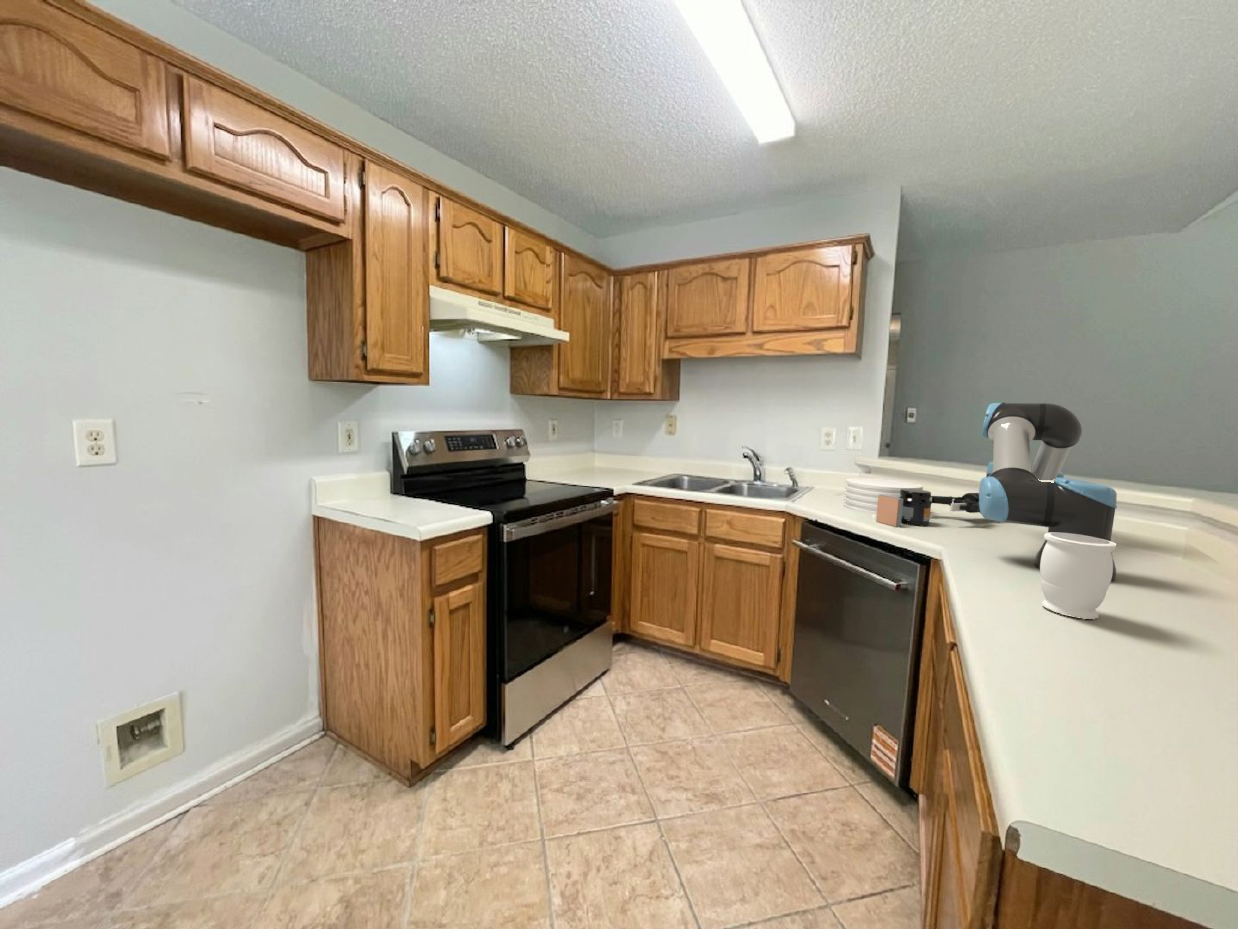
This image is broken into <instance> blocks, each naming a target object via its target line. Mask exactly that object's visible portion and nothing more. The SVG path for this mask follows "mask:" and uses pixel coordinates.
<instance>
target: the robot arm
mask: <svg viewBox="0 0 1238 929" xmlns="http://www.w3.org/2000/svg"><path fill="white" fill-rule="evenodd" d="M1082 431H1083V428H1082V424H1081V422H1080V419H1078V417H1077V415H1075V413H1074V412H1072V411H1070V410H1069V409H1067V408H1066V407H1064V406H1062V405H1060V404H1056V403H1055V404H1054V403H1050V402H1048V403H1047V402H1046V403H1042V402H1041V403H1038V402H1037V403H1035V402H1034V403H1033V402H1031V403H1029V402H1027V403H1026V402H1023V403H1022V402H1006V401H1005V402H1003V401H1002V402H992V403H990V404H989V405H988V406H987V409H986V410H985V416H984V420H983V424H982V431H981V432H982V433H981V435H982V437H983V438H985V439H988V440H989V442H991V443H992V444H993V447H992V448H993V449H992V450H993V451H992V452H993V453H992V455H993V456H992V459H993V460H992V461H990V462H989V463H988V464H987V469H986V474H985V475H986V476H985V477H982V478H981V479H980V481H979V482H980V483H979V487H978V492H967V493H965V494H963V495H962V496H956V497H955V496H952V495H950V496H943V495H942V496H941V495H931V497H930V500H931V501H932V504H938V505H948V506H949V507H950V508H949V509H950V510H949V512H966V513H969V514H975V513H976V514H978V513H979V514H981V516H982V517H983V518H984V519H986V520H990V521H991V520H992V521H996V522H999V523H1009V524H1018V525H1027V526H1034V527H1035V526H1036V527H1044V528H1048V529H1047V530H1048V531H1047V533H1049V532H1058V533H1071V534H1079V535H1085V536H1091V537H1096V538H1100V539H1104V540H1107V541H1111V542H1112V534H1113V527H1114V520H1115V513H1116V509H1117V508H1118V506H1117V497H1118V496H1117V491H1116V490H1115V489H1114V488H1112V487H1110V486H1107V485H1104V484H1101V483H1100V484H1099V483H1095V482H1090V481H1084V480H1079V479H1074V478H1068V477H1065V476H1064V473H1063V472H1062V471H1061V470H1062V468H1063V466H1064V464H1065V462H1066V461H1067V460H1066V459H1067V457H1068V455H1069V452H1070V451H1071V449H1072V448H1073V447H1074V446H1076V444H1078V442H1079V441H1080V438H1081V436H1082ZM1032 441H1041V442H1040V444H1039V448H1038V451H1037V454H1036V455H1035V459H1034V462H1033V464H1032V463H1031V447H1030V443H1031V442H1032ZM1038 479H1039V480H1053V479H1055V480H1054V483H1051V482H1041V481H1039V480H1038ZM1046 543H1047V540H1045V539H1044V542H1043V543H1042V545H1041V547H1040V549H1039V550H1038V552H1037V554H1036V556H1035V559H1034V560H1035V561H1034V565H1035V566H1036V567H1037V568H1039V569H1040V562H1041V556H1042V552H1043V549H1044V547H1045V545H1046ZM1111 555H1112V559H1113V573H1112V579H1111V582H1112V581H1115V580H1116V577H1117V567H1116V565H1115V564H1116V563H1115V561H1114V560H1115V559H1114V558H1113V553H1112V552H1111Z"/></svg>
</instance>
